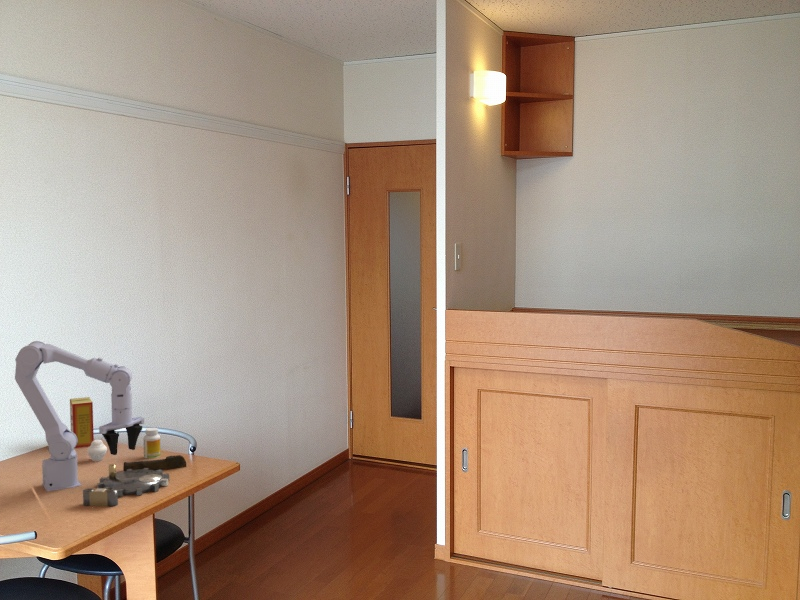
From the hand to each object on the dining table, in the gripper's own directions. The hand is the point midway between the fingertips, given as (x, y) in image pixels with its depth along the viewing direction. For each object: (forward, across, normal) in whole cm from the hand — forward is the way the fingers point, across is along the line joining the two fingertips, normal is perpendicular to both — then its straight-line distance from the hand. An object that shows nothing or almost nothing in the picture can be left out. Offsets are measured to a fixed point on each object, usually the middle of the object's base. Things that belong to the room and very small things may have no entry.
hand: (122, 451), depth 225 cm
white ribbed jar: (+10, +9, +26) cm, 29 cm away
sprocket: (+9, -1, -6) cm, 11 cm away
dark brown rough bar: (+10, +13, +1) cm, 16 cm away
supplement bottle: (+10, +21, +13) cm, 27 cm away
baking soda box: (+10, +18, +47) cm, 51 cm away
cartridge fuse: (+9, -16, -12) cm, 22 cm away
